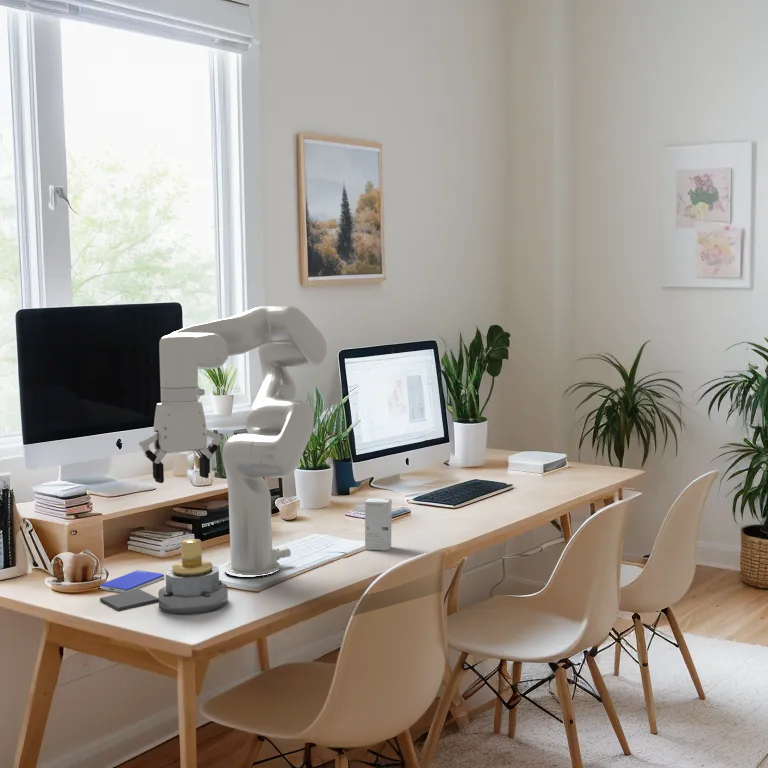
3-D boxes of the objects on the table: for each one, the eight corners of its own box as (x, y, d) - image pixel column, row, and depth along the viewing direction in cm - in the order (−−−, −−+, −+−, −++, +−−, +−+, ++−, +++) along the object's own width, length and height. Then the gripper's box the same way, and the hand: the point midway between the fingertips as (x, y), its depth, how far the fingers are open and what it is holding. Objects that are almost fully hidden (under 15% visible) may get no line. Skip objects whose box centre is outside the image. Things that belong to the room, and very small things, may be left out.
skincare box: (364, 550, 249) (363, 501, 247) (368, 545, 253) (367, 497, 252) (389, 551, 247) (388, 502, 246) (392, 546, 252) (391, 498, 251)
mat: (140, 592, 217) (139, 589, 217) (159, 601, 210) (159, 598, 210) (100, 600, 212) (99, 597, 212) (118, 610, 205) (118, 607, 205)
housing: (207, 589, 218) (205, 557, 217) (240, 604, 207) (239, 571, 207) (147, 603, 209) (145, 570, 209) (178, 619, 198) (177, 584, 198)
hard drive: (136, 569, 231) (97, 584, 221) (164, 573, 228) (125, 588, 217) (136, 576, 232) (97, 591, 221) (164, 580, 228) (125, 595, 217)
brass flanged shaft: (200, 581, 214) (199, 534, 213) (220, 589, 207) (218, 541, 206) (166, 589, 209) (164, 541, 208) (184, 598, 202) (182, 548, 201)
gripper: (211, 392, 213) (213, 473, 214) (131, 397, 204) (134, 481, 205) (226, 394, 207) (228, 477, 208) (145, 399, 197) (147, 486, 199)
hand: (182, 479), depth 206 cm, fingers open, 9 cm apart
